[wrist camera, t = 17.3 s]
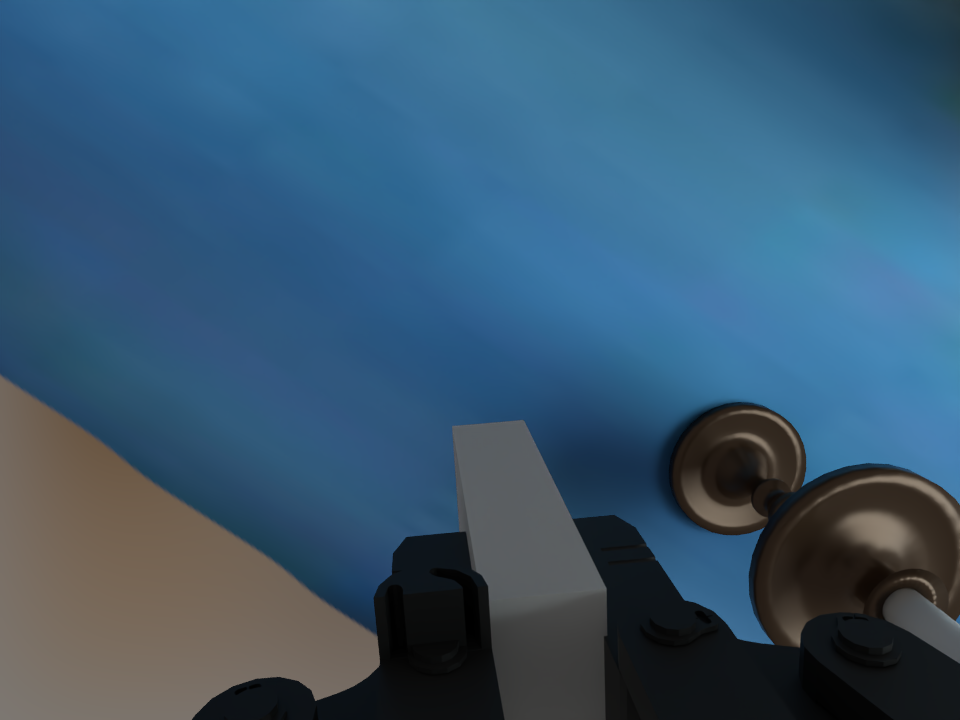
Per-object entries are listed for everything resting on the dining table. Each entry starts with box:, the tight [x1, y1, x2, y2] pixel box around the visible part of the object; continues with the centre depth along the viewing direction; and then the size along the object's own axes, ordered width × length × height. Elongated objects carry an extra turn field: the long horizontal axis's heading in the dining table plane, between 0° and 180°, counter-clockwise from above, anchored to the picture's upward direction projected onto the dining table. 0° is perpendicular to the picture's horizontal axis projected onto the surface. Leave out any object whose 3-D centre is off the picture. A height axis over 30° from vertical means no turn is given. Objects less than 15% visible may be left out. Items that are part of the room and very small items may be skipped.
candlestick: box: [669, 402, 960, 663], centre depth 31 cm, size 11×11×35 cm
